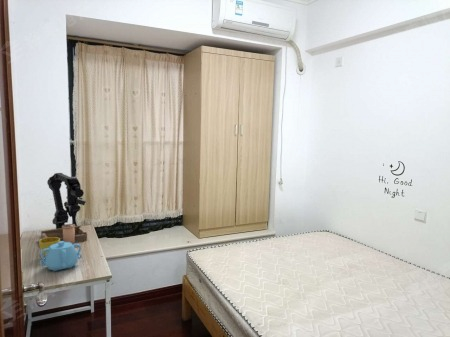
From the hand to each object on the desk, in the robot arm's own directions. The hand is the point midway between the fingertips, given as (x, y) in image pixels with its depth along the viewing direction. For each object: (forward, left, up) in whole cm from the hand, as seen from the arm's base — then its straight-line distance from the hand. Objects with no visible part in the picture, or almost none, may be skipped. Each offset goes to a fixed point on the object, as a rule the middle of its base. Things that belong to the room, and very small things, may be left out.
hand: (72, 218), depth 211 cm
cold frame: (+4, -6, -13) cm, 15 cm away
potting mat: (+18, -6, -13) cm, 23 cm away
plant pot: (+30, -19, -13) cm, 38 cm away
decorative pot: (+49, -17, -13) cm, 54 cm away
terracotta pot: (+17, -6, -13) cm, 22 cm away
